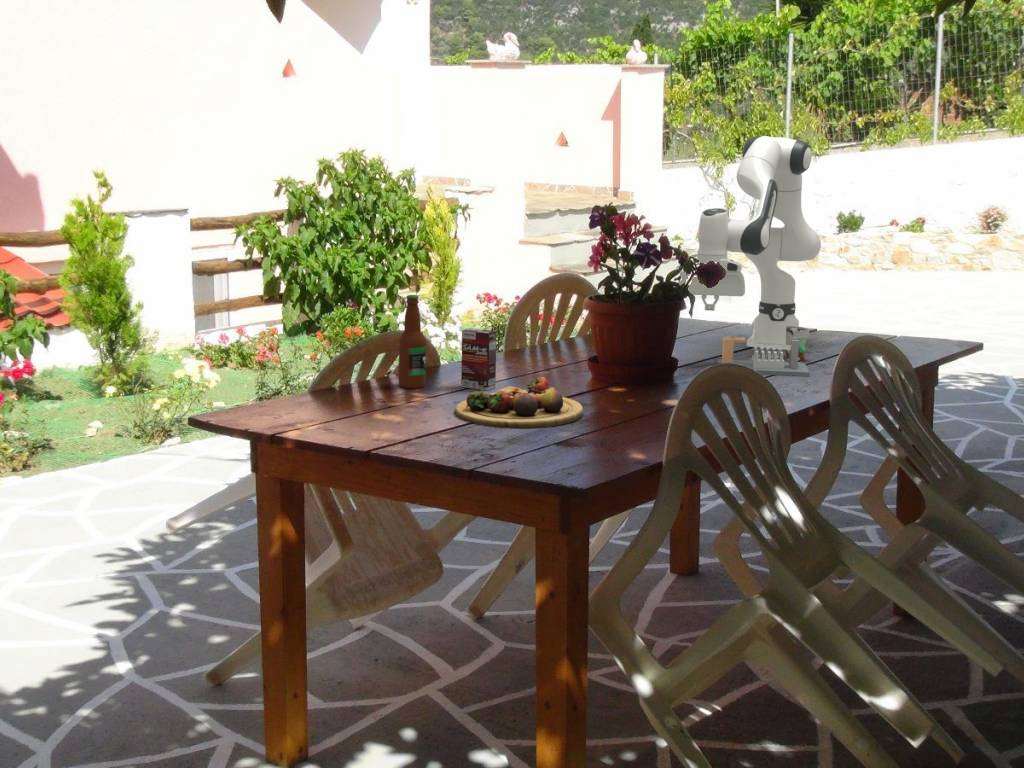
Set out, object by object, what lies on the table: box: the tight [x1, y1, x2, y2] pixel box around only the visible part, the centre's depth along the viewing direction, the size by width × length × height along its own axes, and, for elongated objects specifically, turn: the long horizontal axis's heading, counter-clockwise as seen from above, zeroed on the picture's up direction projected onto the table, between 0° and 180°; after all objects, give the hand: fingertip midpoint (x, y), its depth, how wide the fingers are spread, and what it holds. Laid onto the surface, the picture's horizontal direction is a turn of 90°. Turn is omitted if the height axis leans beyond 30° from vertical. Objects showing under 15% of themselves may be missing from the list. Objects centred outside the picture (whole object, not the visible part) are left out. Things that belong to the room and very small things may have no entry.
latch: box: [721, 336, 747, 363], centre depth 384 cm, size 6×6×8 cm
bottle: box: [398, 294, 427, 389], centre depth 348 cm, size 7×7×25 cm
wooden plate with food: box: [454, 376, 584, 429], centre depth 319 cm, size 32×32×8 cm
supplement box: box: [460, 327, 498, 391], centre depth 349 cm, size 9×5×16 cm, turn 62°
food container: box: [784, 326, 810, 363], centre depth 400 cm, size 12×6×10 cm, turn 179°
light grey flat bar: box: [745, 340, 792, 350], centre depth 382 cm, size 3×15×1 cm, turn 82°
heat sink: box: [717, 338, 810, 377], centre depth 383 cm, size 16×26×10 cm, turn 82°
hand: (709, 310), depth 382 cm, fingers closed
